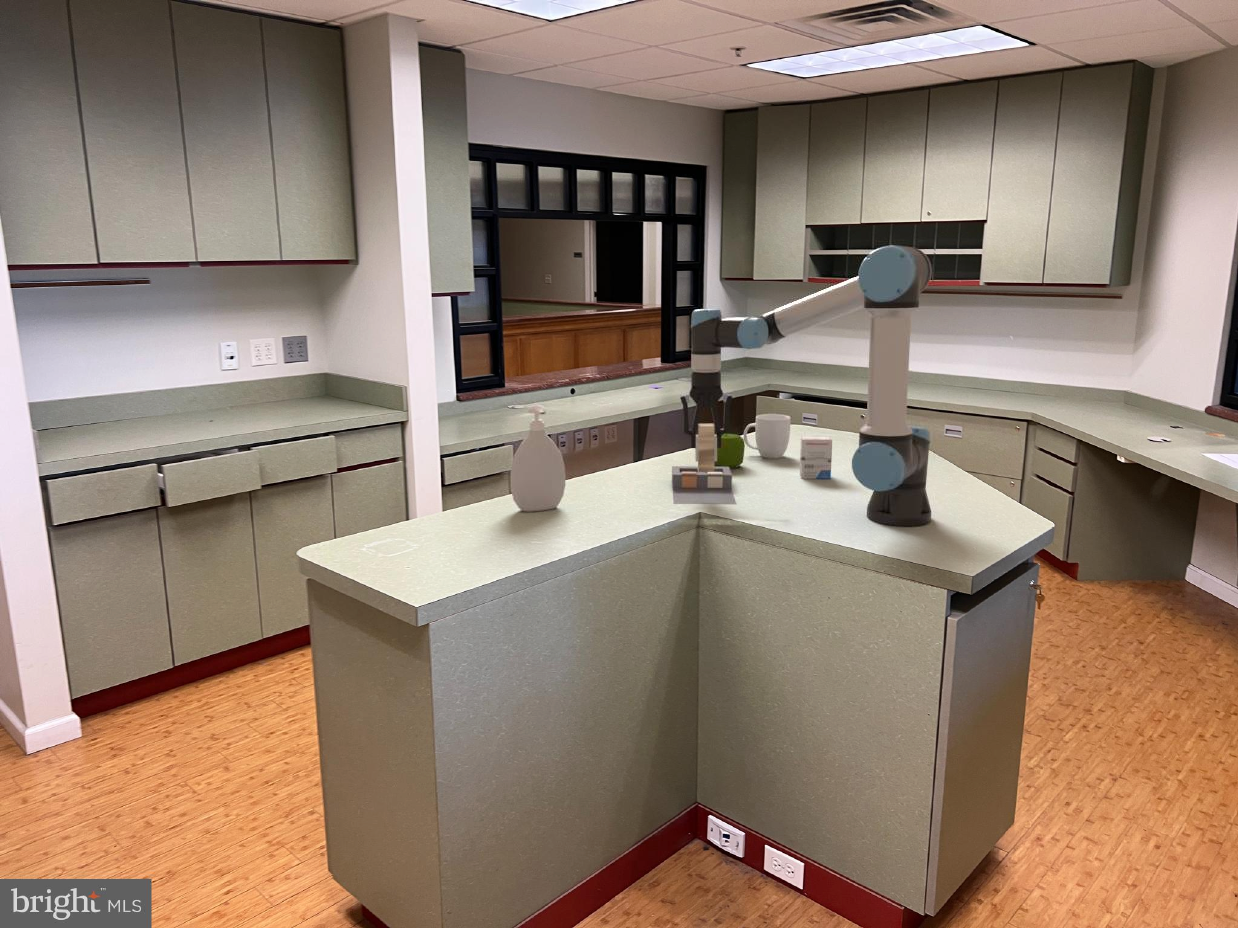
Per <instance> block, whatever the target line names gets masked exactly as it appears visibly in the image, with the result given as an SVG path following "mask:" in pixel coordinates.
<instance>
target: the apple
mask: <svg viewBox="0 0 1238 928" xmlns="http://www.w3.org/2000/svg"><path fill="white" fill-rule="evenodd" d="M714 435H716V433H714ZM745 447H746V445H745V441H744V437H742V436H741V435H739V434H735V433H734V434H733V433H726V434H723V435H722V436H721V448H717V461H714V467H729V468H730V470H731V469H736V468H737V467H738V466H740V465H742V464H743V461H744V459H745V458H744V456H745Z"/></svg>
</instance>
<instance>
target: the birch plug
mask: <svg viewBox="0 0 1238 928" xmlns="http://www.w3.org/2000/svg"><path fill="white" fill-rule="evenodd" d="M697 435H698V436H699V462H697V466H698V471H699V472H714V467H715V466H714V435H715V424H714V422H713V423H698V427H697Z"/></svg>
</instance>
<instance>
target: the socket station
mask: <svg viewBox="0 0 1238 928" xmlns="http://www.w3.org/2000/svg"><path fill="white" fill-rule="evenodd" d="M732 485H733V473H732V472H731V469H730V468H729V467H715V466H714V472H699V471H698V465H697V466H696V465H695V466H693V465H686V466H685V465H680V466H679V465H678V466H677V465H676V466H675V465H671V486H672V487H671V488H672V499H673V504H677V505H679V504H680V505H681V504H682V505H685V504H686V505H737V501H736V499H735V496H734V493H733V490H732V487H733V486H732Z"/></svg>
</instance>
